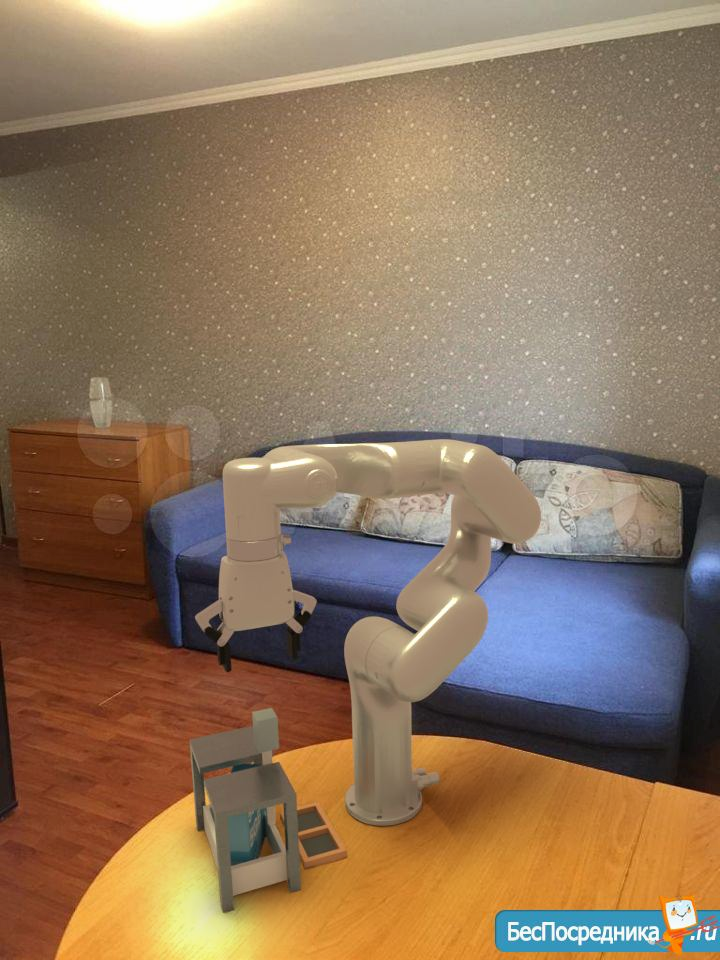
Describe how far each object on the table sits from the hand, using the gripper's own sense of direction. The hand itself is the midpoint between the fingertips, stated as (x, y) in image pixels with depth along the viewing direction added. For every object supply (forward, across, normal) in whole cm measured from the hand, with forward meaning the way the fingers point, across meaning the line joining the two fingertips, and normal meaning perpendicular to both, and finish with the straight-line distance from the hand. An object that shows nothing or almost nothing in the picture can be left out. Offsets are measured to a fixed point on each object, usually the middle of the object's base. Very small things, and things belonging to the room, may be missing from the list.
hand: (260, 662), depth 111 cm
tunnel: (+30, +4, 0) cm, 30 cm away
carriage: (+30, +4, 0) cm, 30 cm away
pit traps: (+30, -7, 0) cm, 31 cm away
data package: (+30, +4, 0) cm, 30 cm away
